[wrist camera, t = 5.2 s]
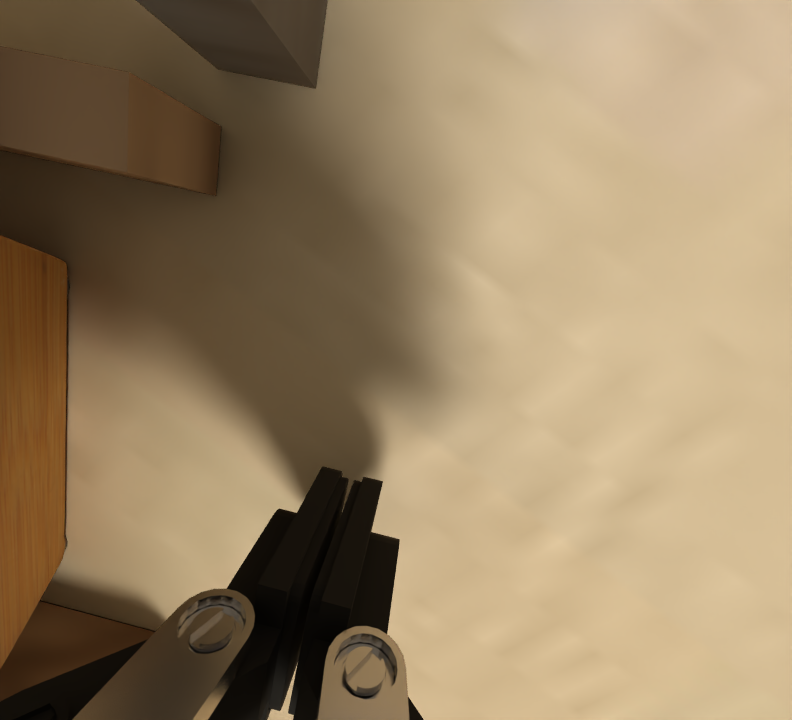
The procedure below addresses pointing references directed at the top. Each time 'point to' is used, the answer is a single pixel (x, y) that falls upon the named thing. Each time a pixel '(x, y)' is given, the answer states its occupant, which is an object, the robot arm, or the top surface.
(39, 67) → the bay
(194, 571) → the top surface
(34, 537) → the soap dish
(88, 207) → the top surface
